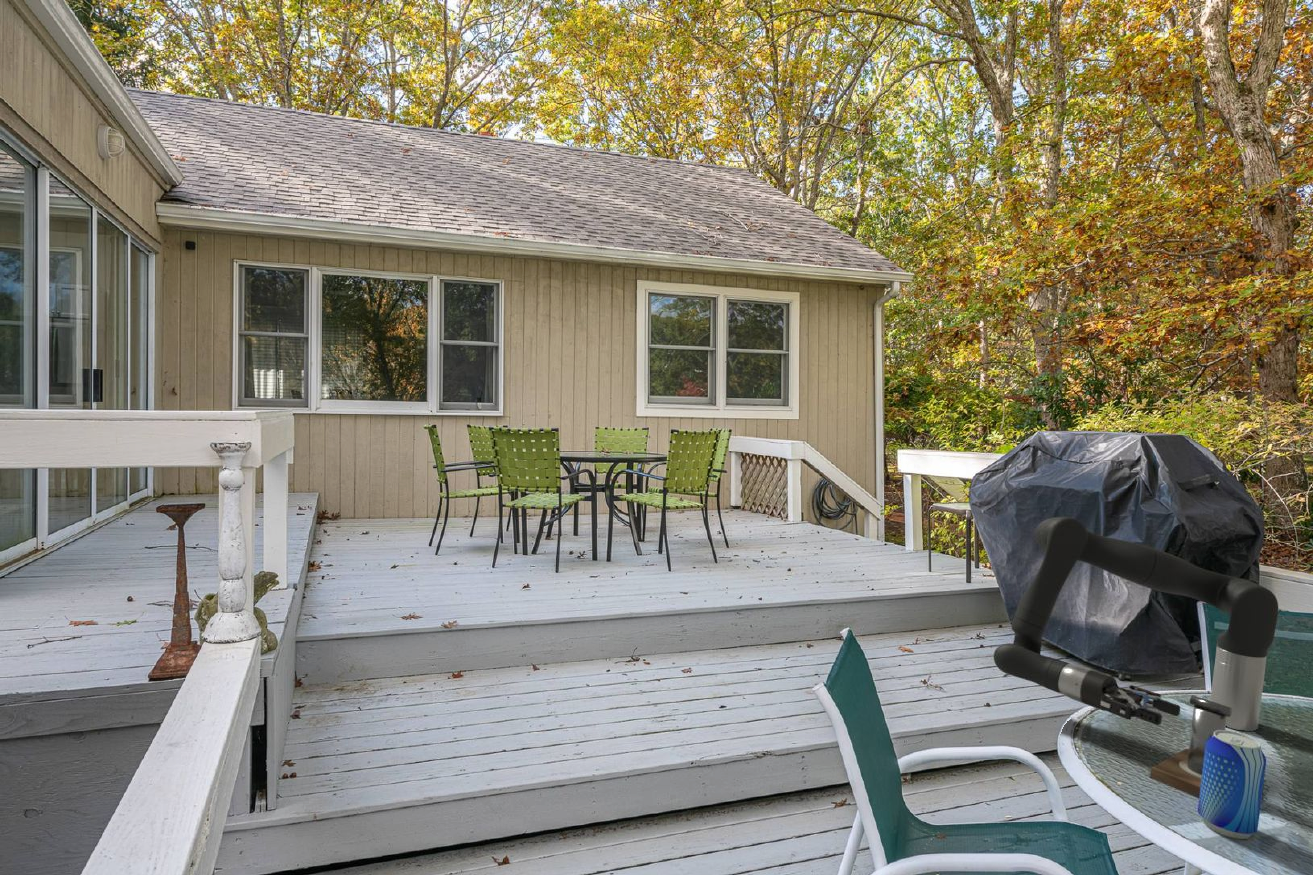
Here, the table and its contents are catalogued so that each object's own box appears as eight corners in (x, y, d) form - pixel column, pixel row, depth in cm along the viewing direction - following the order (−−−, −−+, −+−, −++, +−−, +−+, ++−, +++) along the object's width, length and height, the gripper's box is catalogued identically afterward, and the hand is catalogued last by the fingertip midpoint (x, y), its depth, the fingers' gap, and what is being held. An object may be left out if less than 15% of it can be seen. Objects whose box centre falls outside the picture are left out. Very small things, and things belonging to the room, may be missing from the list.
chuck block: (1185, 757, 159) (1186, 747, 159) (1254, 784, 150) (1256, 774, 149) (1150, 777, 150) (1151, 766, 150) (1222, 807, 140) (1223, 795, 140)
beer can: (1185, 813, 138) (1195, 726, 136) (1228, 813, 138) (1239, 727, 137) (1223, 841, 129) (1234, 750, 128) (1269, 841, 130) (1281, 750, 129)
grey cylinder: (1190, 759, 154) (1198, 692, 153) (1227, 774, 149) (1236, 705, 148) (1178, 765, 151) (1186, 697, 150) (1216, 780, 146) (1225, 710, 145)
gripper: (1072, 675, 163) (1156, 704, 150) (1104, 663, 171) (1187, 690, 158) (1068, 709, 164) (1152, 741, 151) (1101, 696, 172) (1183, 726, 159)
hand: (1170, 715), depth 154 cm, fingers open, 8 cm apart
